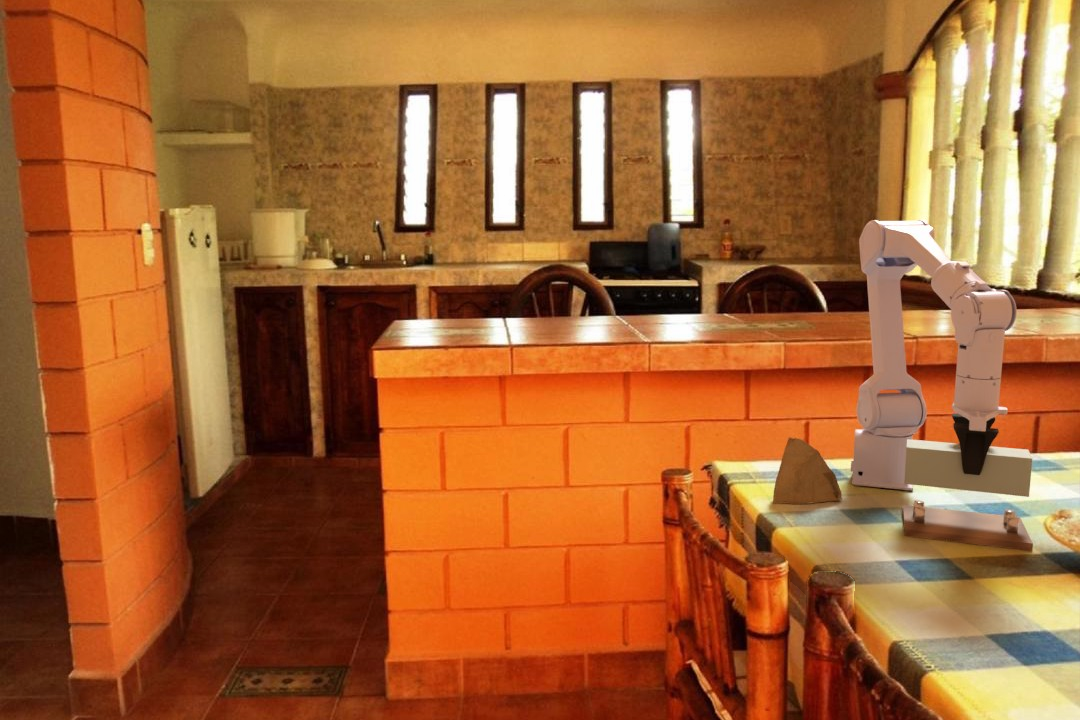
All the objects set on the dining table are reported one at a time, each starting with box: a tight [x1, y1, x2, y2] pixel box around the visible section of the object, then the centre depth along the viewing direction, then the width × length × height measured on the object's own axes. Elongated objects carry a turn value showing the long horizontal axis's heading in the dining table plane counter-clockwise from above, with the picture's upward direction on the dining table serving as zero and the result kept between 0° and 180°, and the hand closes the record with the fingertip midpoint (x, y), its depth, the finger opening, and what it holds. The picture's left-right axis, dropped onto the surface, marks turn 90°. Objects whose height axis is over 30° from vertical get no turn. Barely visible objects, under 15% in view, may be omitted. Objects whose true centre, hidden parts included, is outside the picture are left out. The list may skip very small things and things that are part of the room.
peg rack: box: [901, 499, 1034, 551], centre depth 126 cm, size 16×11×3 cm
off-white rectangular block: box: [904, 439, 1033, 498], centre depth 126 cm, size 16×5×6 cm, turn 66°
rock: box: [772, 437, 843, 505], centre depth 138 cm, size 11×9×10 cm
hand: (970, 468), depth 125 cm, fingers closed on off-white rectangular block, 5 cm apart
